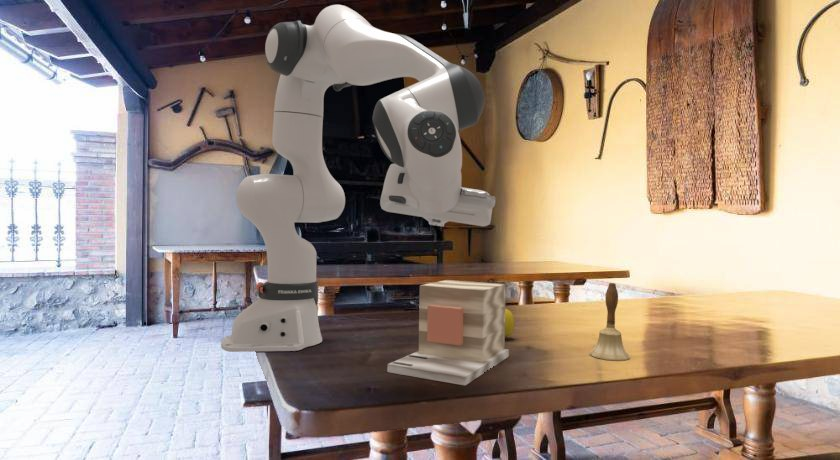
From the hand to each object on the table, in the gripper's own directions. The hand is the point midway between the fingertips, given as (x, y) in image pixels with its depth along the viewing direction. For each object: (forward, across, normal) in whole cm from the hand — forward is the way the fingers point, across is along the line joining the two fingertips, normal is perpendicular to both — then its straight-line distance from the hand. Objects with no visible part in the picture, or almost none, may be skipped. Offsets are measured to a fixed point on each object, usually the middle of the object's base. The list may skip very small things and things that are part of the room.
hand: (437, 222), depth 101 cm
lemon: (+39, -17, +11) cm, 44 cm away
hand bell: (+27, -40, +13) cm, 50 cm away
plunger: (+16, -7, +18) cm, 25 cm away
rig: (+16, -7, +23) cm, 29 cm away
